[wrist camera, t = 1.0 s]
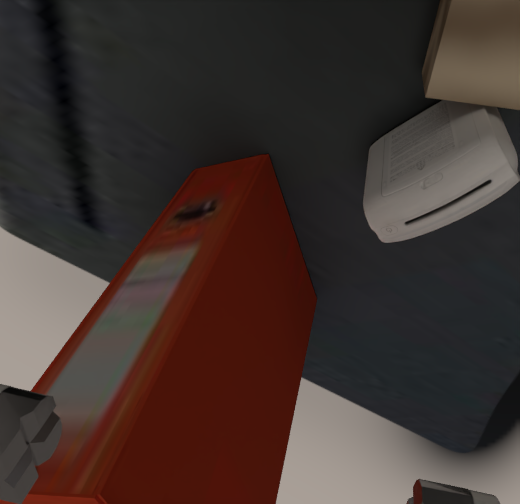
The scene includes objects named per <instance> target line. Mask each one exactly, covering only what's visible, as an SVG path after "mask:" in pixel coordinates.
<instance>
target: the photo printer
mask: <svg viewBox="0 0 520 504" xmlns="http://www.w3.org/2000/svg"><path fill="white" fill-rule="evenodd" d="M517 167H518V158H517V153H516V151H515V148H514V146H513V144H512V141H511V139H510V137H509V134H508V132H507V130H506V127H505V125H504V123H503V120H502V118H501V115H500V113H499V111H498V108H497V107H493V106H486V105H478V104H471V103H463V102H456V101H449V100H442V101H440V102H439V103H437V104H435V105H433V106H432V107H430V108H428V109H427V110H425V111H423V112H422V113H420V114H418V115H417V116H415V117H413V118H411V119H410V120H408V121H407V122H405V123H403V124H402V125H400V126H398V127H396V128H395V129H393V130H392V131H390V132H389V133H387V134H386V135H384V136H383V137H381V138H380V139H378V140H377V141H376V142H375V143H374V144H373V145H372V146H371V147H370V149H369V155H368V165H367V174H366V182H365V191H364V199H363V207H364V212H365V216H366V218H367V221H368V223H369V226H370V228H371V229H372V230H373V231H375V233H376V234H377V235H378V237H379V239H380V240H381V241H382V242H385V243H390V242H398V241H403V240H407V239H410V238H414V237H417V236H420V235H423V234H425V233H428V232H431V231H434V230H436V229H438V228H441V227H443V226H445V225H448V224H450V223H452V222H454V221H457V220H459V219H461V218H463V217H465V216H467V215H469V214H471V213H473V212H475V211H476V210H478V209H480V208H482V207H484V206H485V205H487V204H489V203H490V202H492V201H494V200H495V199H497V198H498V197H500V196H501V195H503V194H504V193H506V192H507V191H508V190H509V189H511V188H512V187H513V186H514V185H515V184H517V183H518V182H519V181H520V177H519V174H518V171H517Z"/></svg>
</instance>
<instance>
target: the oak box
mask: <svg viewBox="0 0 520 504" xmlns="http://www.w3.org/2000/svg"><path fill="white" fill-rule="evenodd" d="M422 78H423V84H424V91H425V97H426V98H434V99H441V100H449V101H456V102H463V103H471V104H478V105H486V106H493V107H501V108H508V109H516V110H520V0H440V3H439V7H438V11H437V15H436V19H435V23H434V27H433V31H432V35H431V38H430V42H429V46H428V50H427V54H426V58H425V62H424V66H423V70H422Z"/></svg>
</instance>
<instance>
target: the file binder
mask: <svg viewBox="0 0 520 504" xmlns="http://www.w3.org/2000/svg"><path fill="white" fill-rule="evenodd" d="M316 302H317V298H316V295H315V292H314V289H313V286H312V283H311V280H310V277H309V274H308V271H307V268H306V265H305V262H304V259H303V256H302V253H301V250H300V247H299V244H298V241H297V238H296V235H295V232H294V229H293V226H292V223H291V220H290V217H289V214H288V211H287V208H286V205H285V202H284V199H283V196H282V193H281V190H280V187H279V184H278V181H277V178H276V175H275V172H274V169H273V166H272V163H271V160H270V157H269V154H266V155H264V154H262V155H258V156H253V157H248V158H244V159H239V160H235V161H230V162H225V163H221V164H216V165H212V166H207V167H202V168H198V169H195V170H194V171H192V172H191V174H190V175H189V176H188V178H187V179H186V181H185V182H184V183H183V185H182V186H181V187H180V189H179V190H178V191H177V193H176V194H175V196H174V197H173V198H172V200H171V201H170V202H169V204H168V205H167V206H166V208H165V209H164V210H163V212H162V213H161V215H160V216H159V217H158V219H157V220H156V221H155V223H154V224H153V225H152V227H151V228H150V230H149V231H148V232H147V234H146V235H145V236H144V238H143V239H142V240H141V242H140V243H139V244H138V246H137V247H136V249H135V250H134V251H133V253H132V254H131V255H130V257H129V258H128V259H127V261H126V262H125V264H124V265H123V266H122V268H121V269H120V270H119V272H118V273H117V274H116V276H115V277H114V278H113V280H112V281H111V283H110V284H109V285H108V287H107V288H106V290H105V291H104V292H103V293H102V295H101V296H100V298H99V299H98V300H97V302H96V303H95V304H94V306H93V307H92V308H91V310H90V311H89V313H88V314H87V315H86V317H85V318H84V319H83V321H82V322H81V323H80V325H79V326H78V327H77V329H76V330H75V332H74V333H73V334H72V336H71V337H70V338H69V340H68V341H67V342H66V344H65V345H64V347H63V348H62V349H61V351H60V352H59V353H58V355H57V356H56V357H55V359H54V360H53V362H52V363H51V364H50V366H49V367H48V368H47V370H46V371H45V372H44V374H43V375H42V377H41V378H40V379H39V381H38V382H37V383H36V385H35V386H34V387H33V389H32V390H31V392H36V393H40V394H44V395H49V396H53V398H54V401H55V403H56V407H55V408H54V410H53V412H54V413H56V414H57V415H58V416H59V417H60V419H61V423H62V434H61V437H60V440H59V443H58V446H57V448H56V449H55V451H54V453H53V454H52V456H51V458H50V459H48V460H47V461H45V462H44V463H42V464H40V465H39V466H38V471H39V477H38V479H37V480H36V482H35V483H34V485H33V486H32V488H31V490H30V491H29V493H28V494H27V496H26V498H25V499H24V501H23V502H22V504H276V499H277V494H278V489H279V484H280V479H281V474H282V469H283V464H284V460H285V455H286V450H287V445H288V440H289V435H290V430H291V425H292V420H293V415H294V410H295V405H296V400H297V395H298V391H299V386H300V381H301V376H302V371H303V366H304V361H305V356H306V351H307V346H308V341H309V336H310V331H311V326H312V322H313V317H314V312H315V307H316ZM0 504H17V503H12V502H8V501H4V500H0Z"/></svg>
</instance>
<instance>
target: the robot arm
mask: <svg viewBox="0 0 520 504" xmlns="http://www.w3.org/2000/svg"><path fill="white" fill-rule="evenodd" d="M55 407H56V403H55V401H54V398H53V396H49V395H44V394H40V393H36V392H31V391H27V390H22V389H18V388H14V387H11V386H7V385H2V384H0V500H4V501H8V502H12V503H17V504H22V502H23V501H24V499H25V498H26V496H27V494H28V493H29V491H30V490H31V488H32V486H33V485H34V483H35V482H36V480H37V479H38V477H39V471H38V466H39V465H40V464H42V463H44V462H45V461H47V460H48V459H50V458H51V456H52V454H53V453H54V451H55V449H56V448H57V446H58V443H59V440H60V437H61V434H62V423H61V419H60V417H59V416H58V415H57V414H56V413H54V412H53V410H54V408H55ZM407 504H500V502H499V501H498V499H497V498H496V497H495V496H494V495H490V494H485V493H481V492H476V491H472V490H468V489H465V488H460V487H455V486H451V485H445V484H441V483H436V482H431V481H426V480H421V479H418V480H417V481H416V482H415V484H414V487H413V497H412V498H409V499H408V501H407Z"/></svg>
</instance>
